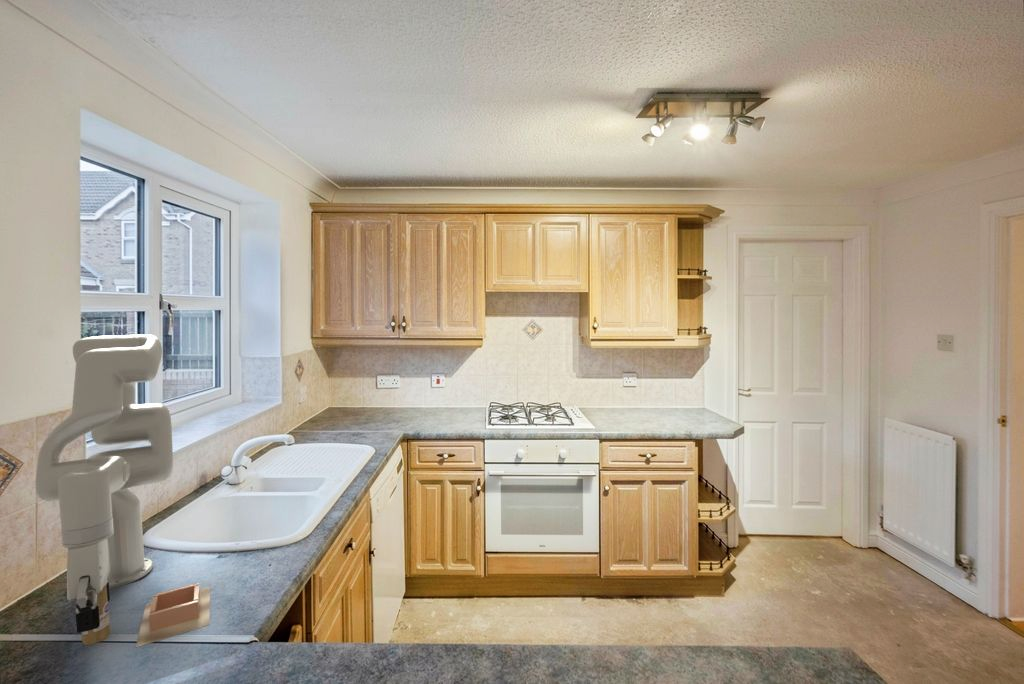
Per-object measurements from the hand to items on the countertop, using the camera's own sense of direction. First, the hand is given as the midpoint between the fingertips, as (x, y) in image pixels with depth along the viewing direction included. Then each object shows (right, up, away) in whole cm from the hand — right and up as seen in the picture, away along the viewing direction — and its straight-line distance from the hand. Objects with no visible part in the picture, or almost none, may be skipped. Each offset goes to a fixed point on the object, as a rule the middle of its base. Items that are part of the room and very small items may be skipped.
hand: (94, 616), depth 94 cm
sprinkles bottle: (0, -6, +1) cm, 6 cm away
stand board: (+11, -5, +8) cm, 14 cm away
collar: (+11, -4, +8) cm, 14 cm away
